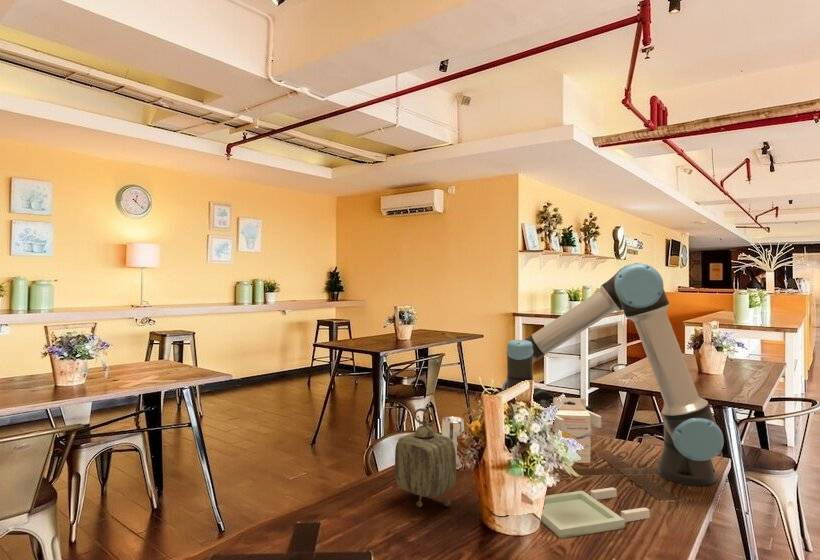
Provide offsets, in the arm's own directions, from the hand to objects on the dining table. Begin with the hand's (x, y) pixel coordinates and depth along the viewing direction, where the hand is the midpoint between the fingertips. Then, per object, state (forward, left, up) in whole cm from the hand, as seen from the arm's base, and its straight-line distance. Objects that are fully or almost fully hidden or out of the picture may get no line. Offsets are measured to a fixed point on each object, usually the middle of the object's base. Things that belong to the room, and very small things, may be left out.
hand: (581, 423), depth 124 cm
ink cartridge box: (0, -5, -10) cm, 11 cm away
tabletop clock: (+33, -21, -24) cm, 46 cm away
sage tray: (0, -4, -24) cm, 25 cm away
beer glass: (+17, -43, -24) cm, 52 cm away
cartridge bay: (-14, -5, -24) cm, 28 cm away
